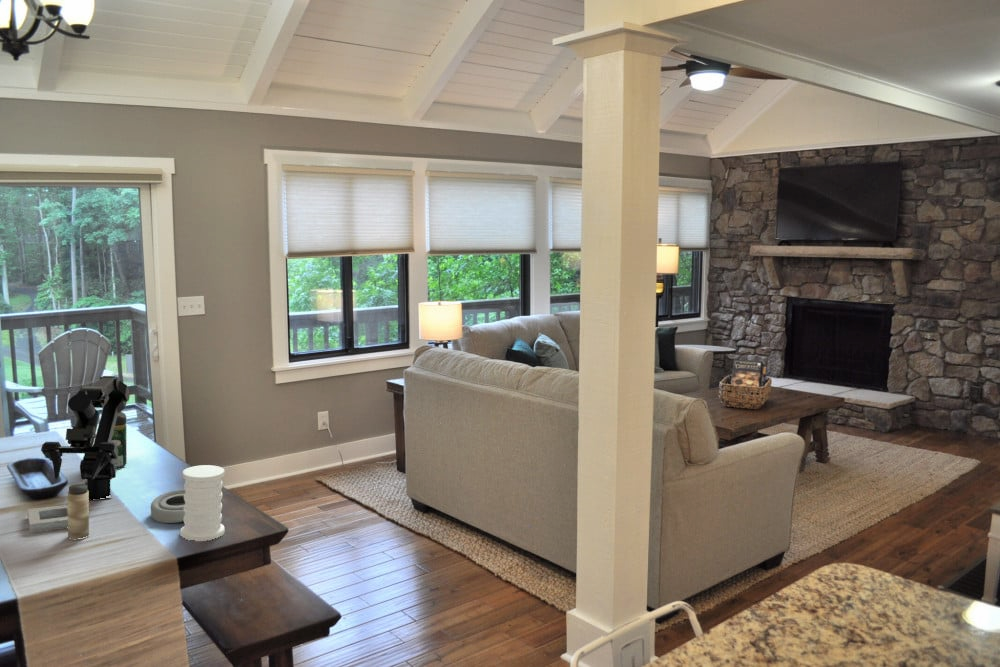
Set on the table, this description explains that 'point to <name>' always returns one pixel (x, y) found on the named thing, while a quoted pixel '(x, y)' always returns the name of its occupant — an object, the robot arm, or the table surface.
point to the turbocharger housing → (169, 507)
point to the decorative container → (203, 503)
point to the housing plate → (45, 514)
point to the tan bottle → (78, 511)
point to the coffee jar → (120, 440)
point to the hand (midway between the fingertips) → (74, 478)
